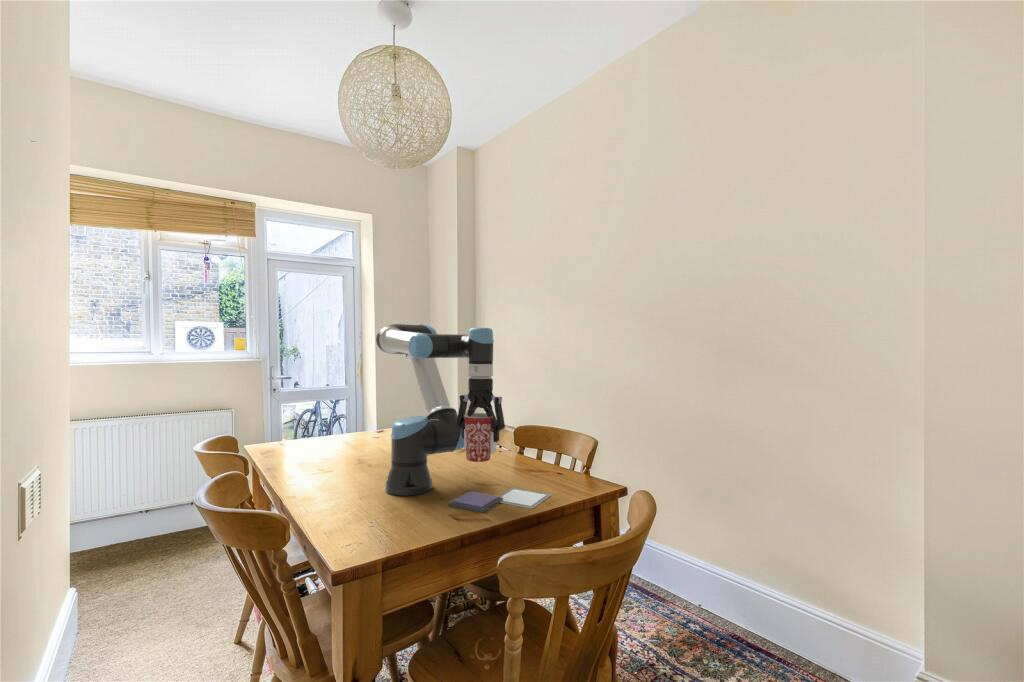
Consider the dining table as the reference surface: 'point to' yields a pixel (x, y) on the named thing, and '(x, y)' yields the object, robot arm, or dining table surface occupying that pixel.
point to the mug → (478, 437)
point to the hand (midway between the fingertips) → (480, 450)
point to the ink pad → (475, 501)
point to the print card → (523, 498)
